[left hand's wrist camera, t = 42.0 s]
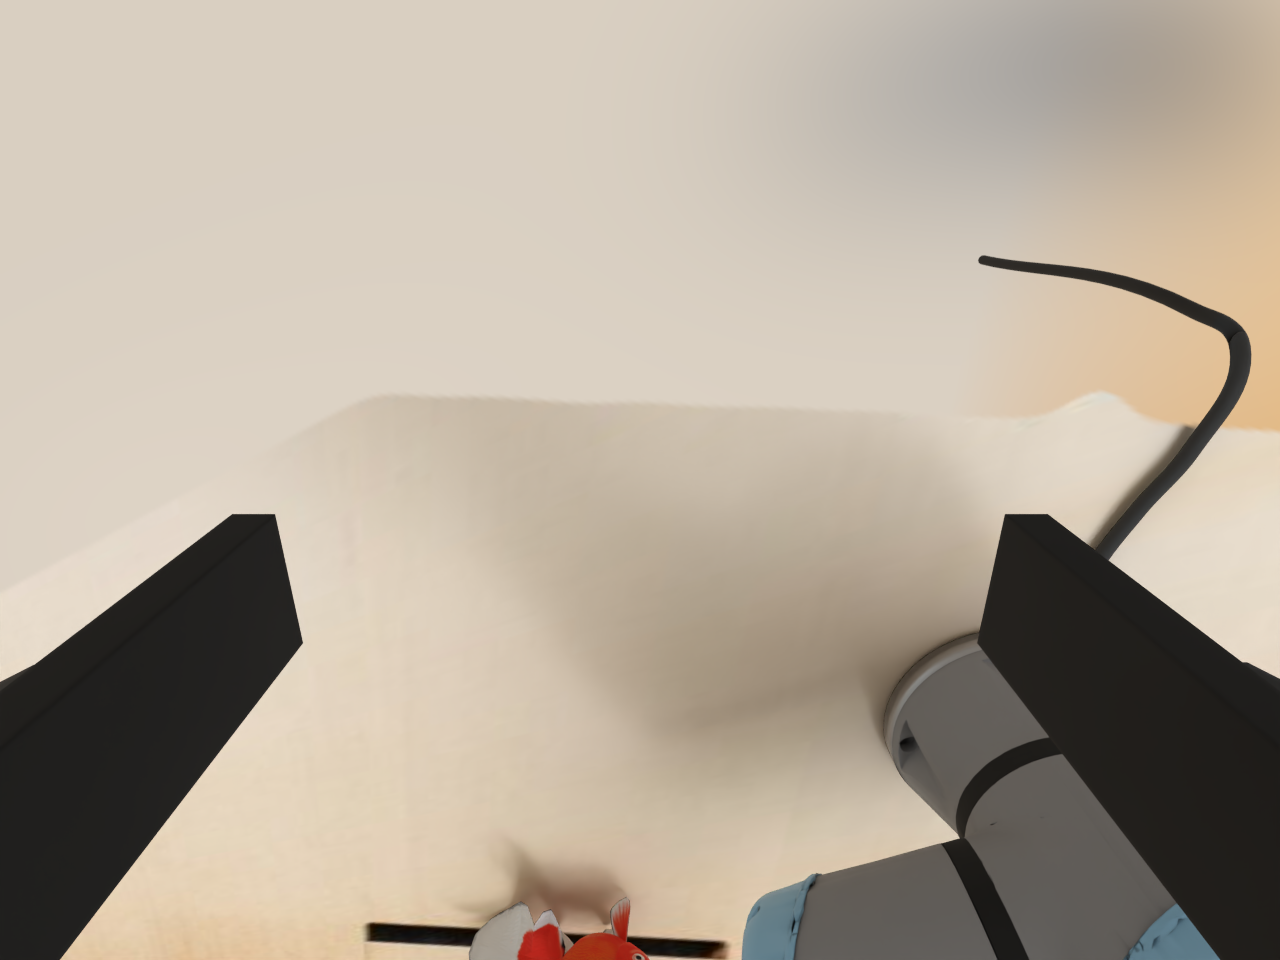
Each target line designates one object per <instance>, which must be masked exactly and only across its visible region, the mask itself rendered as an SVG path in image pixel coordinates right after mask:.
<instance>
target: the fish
mask: <svg viewBox="0 0 1280 960" xmlns="http://www.w3.org/2000/svg"><path fill="white" fill-rule="evenodd" d="M629 914H630V901H629V899H628V898H627V897H626V898H624V899H622V900H620V901H619V902H618V903H616V904H615V905H614V906H613V907H612V909H611V911H610V915H611V925H612V929H606V930H605V931H604V932H603V933H593V934H590V935H587V936H585V937H583V938H581V939H580V940H579V941H577V942H576V943H575V944H574V945H573V943H572V942H571V940H570V939H569V938H568V937H567V936H566V935H565V934H564V933H563V932H562V931H561V930H560V927H559V924H558V922H557V920H556V918H555V916H554V914H553V912H552V910H551V909H550V910H547V911H544V912H543V913H542V915H541V916H540V917H539V919H538V920H537V922H536V923H535V924H534V922H533V919H532V917H531V914H530V911H529V908H528V906H527V905H526V904H524V903H522V902H519V903H517V904H515V905H514V906H512V907H511V908H509V909H507V910H505V911H503V912H501V913H499V914H498V915H496V916H495V917H493V918H492V919H490V920H489V921H488V922H487V923H486V924H485V925H484V926H483V927H482V928H481V929H480V930H479V931H478V932H477V933H476V935H475V937H474V940H473V943H472V946H471V948H470V951H469V960H649V958H648V956H647V955H646V954H644V953H643V952H642V951H641V950H640V949H638V948H637V947H636V946H634V945H633V944H631V943H630V942H627V931H628V923H629ZM564 954H565V955H564Z"/></svg>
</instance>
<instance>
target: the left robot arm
mask: <svg viewBox="0 0 1280 960" xmlns="http://www.w3.org/2000/svg"><path fill="white" fill-rule="evenodd" d="M978 262H979V263H980V264H982V265H986V266H990V267H995V268H1001V269H1007V270H1014V271H1020V272H1028V273H1036V274H1044V275H1052V276H1059V277H1067V278H1073V279H1079V280H1085V281H1090V282H1095V283H1100V284H1104V285H1108V286H1112V287H1116V288H1119V289H1123V290H1126V291H1129V292H1132V293H1135V294H1138V295H1141V296H1143V297H1146V298H1148V299H1151V300H1153V301H1156V302H1158V303H1160V304H1163V305H1165V306H1167V307H1169V308H1171V309H1173V310H1175V311H1177V312H1179V313H1181V314H1183V315H1185V316H1187V317H1189V318H1191V319H1193V320H1195V321H1198V322H1200V323H1202V324H1205V325H1207V326H1210V327H1212V328H1214V329H1216V330H1218V331H1219V332H1221V333H1222V334H1223V335H1224V337H1225V338H1226V340H1227V342H1228V345H1229V349H1230V367H1229V373H1228V376H1227V380H1226V382H1225V385H1224V387H1223V389H1222V391H1221V393H1220V395H1219V397H1218V398H1217V400H1216V401H1215V403H1214V405H1213V406H1212V408H1211V409H1210V410H1209V412H1208V413H1207V415H1206V416H1205V417H1204V419H1203V420H1202V421H1201V423H1200V424H1199V425H1198V427H1197V428H1196V429H1195V431H1194V432H1193V433H1192V435H1191V436H1190V438H1189V439H1188V440H1187V442H1186V443H1185V445H1184V446H1183V447H1182V449H1181V450H1180V452H1179V453H1178V454H1177V455H1176V457H1175V458H1174V459H1173V460H1172V462H1171V463H1170V464H1169V465H1168V466H1167V467H1166V468H1165V469H1164V471H1163V472H1162V473H1161V474H1160V475H1159V476H1158V477H1157V478H1156V479H1155V480H1154V481H1153V482H1152V483H1151V484H1150V485H1149V486H1148V487H1147V488H1146V489H1145V490H1144V491H1143V492H1142V493H1141V495H1140V496H1139V497H1138V498H1137V499H1136V500H1135V501H1134V502H1133V504H1132V505H1131V506H1130V507H1129V508H1128V510H1127V511H1126V512H1125V513H1124V514H1123V516H1122V517H1121V518H1120V519H1119V521H1118V522H1117V523H1116V524H1115V525H1114V527H1113V528H1112V529H1111V530H1110V532H1109V533H1108V534H1107V535H1106V537H1105V538H1104V539H1103V541H1102V542H1101V543H1100V545H1099V546H1098V547H1097V549H1096V550H1094V549H1093V548H1091V547H1090V546H1089V545H1087V544H1086V543H1085V542H1083V541H1082V540H1081V539H1080V538H1078V537H1077V536H1076V535H1074V534H1073V533H1072V532H1070V531H1069V530H1068V529H1066V528H1065V527H1064V526H1062V525H1061V524H1060V523H1058V522H1057V521H1056V520H1055V519H1053V518H1052V517H1051V516H1049V515H1048V514H1005V517H1004V521H1003V526H1002V531H1001V535H1000V540H999V544H998V549H997V554H996V558H995V563H994V567H993V572H992V577H991V581H990V586H989V590H988V595H987V600H986V604H985V609H984V613H983V618H982V623H981V627H980V632H979V633H976V634H972V635H968V636H965V637H962V638H959V639H956V640H954V641H952V642H949V643H947V644H945V645H943V646H941V647H939V648H937V649H936V650H934V651H932V652H931V653H929V654H928V655H926V656H925V657H924V658H922V659H921V660H920V661H919V662H917V663H916V664H915V665H914V666H913V667H912V668H911V669H910V670H909V671H908V672H907V673H906V674H905V675H904V677H903V678H902V679H901V680H900V682H899V683H898V685H897V686H896V688H895V689H894V691H893V693H892V695H891V697H890V699H889V702H888V704H887V708H886V711H885V717H884V737H885V741H886V745H887V747H888V750H889V752H890V755H891V757H892V759H893V761H894V763H895V766H896V768H897V770H898V771H899V773H900V775H901V776H902V778H903V779H904V781H905V782H906V783H907V784H908V785H909V786H910V787H911V788H912V789H913V790H914V791H915V792H916V793H917V794H918V795H919V796H920V797H921V798H922V799H923V800H924V801H925V802H926V803H927V804H928V805H929V806H930V807H931V808H932V809H933V810H934V811H935V812H936V813H937V814H938V815H939V816H940V817H941V818H942V819H943V820H944V821H945V822H946V823H947V824H948V825H949V826H950V827H951V828H952V829H953V830H954V831H955V832H956V833H957V834H958V836H959V838H960V839H956V840H953V841H949V842H945V843H941V844H936V845H933V846H929V847H925V848H922V849H918V850H915V851H911V852H907V853H904V854H900V855H896V856H893V857H889V858H886V859H882V860H878V861H875V862H871V863H867V864H863V865H859V866H855V867H851V868H847V869H843V870H839V871H835V872H832V873H828V874H824V875H822V874H817V873H816V874H812V875H810V876H809V877H808V878H807V879H806V880H805V881H802V882H799V883H796V884H794V885H791V886H788V887H785V888H782V889H779V890H776V891H772V892H770V893H768V894H765V895H764V896H762V897H761V898H760V899H759V900H758V901H757V902H756V903H755V904H754V906H753V907H752V909H751V911H750V914H749V915H748V918H747V923H746V928H745V930H744V936H743V946H742V960H1280V679H1279V678H1277V677H1275V676H1273V675H1271V674H1269V673H1267V672H1265V671H1263V670H1261V669H1259V668H1257V667H1255V666H1253V665H1251V664H1249V663H1247V662H1241V661H1240V660H1238V659H1237V658H1236V657H1235V656H1233V655H1232V654H1231V653H1229V652H1228V651H1227V650H1225V649H1224V648H1223V647H1221V646H1220V645H1219V644H1217V643H1216V642H1215V641H1214V640H1212V639H1211V638H1210V637H1208V636H1207V635H1206V634H1204V633H1203V632H1202V631H1200V630H1199V629H1198V628H1196V627H1195V626H1194V625H1192V624H1191V623H1190V622H1189V621H1187V620H1186V619H1185V618H1183V617H1182V616H1181V615H1179V614H1178V613H1177V612H1175V611H1174V610H1173V609H1171V608H1170V607H1169V606H1168V605H1166V604H1165V603H1164V602H1162V601H1161V600H1160V599H1158V598H1157V597H1156V596H1154V595H1153V594H1152V593H1150V592H1149V591H1148V590H1147V589H1145V588H1144V587H1143V586H1141V585H1140V584H1139V583H1137V582H1136V581H1135V580H1133V579H1132V578H1131V577H1129V576H1128V575H1127V574H1125V573H1124V572H1123V571H1122V570H1120V569H1119V568H1118V567H1116V566H1115V565H1114V564H1112V563H1111V562H1110V561H1108V560H1109V559H1110V558H1111V556H1112V555H1113V553H1114V552H1115V551H1116V549H1117V548H1118V547H1119V546H1120V544H1121V543H1122V542H1123V541H1124V539H1125V538H1126V537H1127V536H1128V535H1129V533H1130V532H1131V531H1132V530H1133V529H1134V527H1135V526H1136V525H1137V524H1138V523H1139V521H1140V520H1141V519H1142V518H1143V517H1144V515H1145V514H1146V513H1147V512H1148V511H1149V510H1150V508H1151V507H1152V506H1153V505H1154V504H1155V503H1156V502H1157V501H1158V500H1159V499H1160V498H1161V497H1162V496H1163V495H1164V494H1165V493H1166V492H1167V491H1168V490H1169V489H1170V488H1171V487H1172V486H1173V485H1174V484H1175V483H1176V481H1177V480H1178V479H1179V478H1180V477H1181V476H1182V475H1183V474H1184V473H1185V472H1186V471H1187V469H1188V468H1189V467H1190V466H1191V465H1192V463H1193V462H1194V461H1195V460H1196V458H1197V457H1198V456H1199V454H1200V453H1201V451H1202V450H1203V449H1204V447H1205V446H1206V444H1207V443H1208V442H1209V440H1210V439H1211V438H1212V436H1213V435H1214V434H1215V433H1216V431H1217V430H1218V429H1219V427H1220V426H1221V425H1222V423H1223V422H1224V421H1225V419H1226V418H1227V417H1228V415H1229V414H1230V412H1231V411H1232V409H1233V408H1234V406H1235V405H1236V403H1237V401H1238V400H1239V398H1240V396H1241V394H1242V392H1243V390H1244V387H1245V385H1246V383H1247V379H1248V376H1249V372H1250V366H1251V346H1250V342H1249V338H1248V336H1247V333H1246V331H1245V330H1244V329H1243V327H1242V326H1241V325H1240V324H1238V323H1237V322H1236V321H1235V320H1233V319H1232V318H1230V317H1229V316H1227V315H1225V314H1223V313H1220V312H1218V311H1215V310H1213V309H1210V308H1207V307H1205V306H1202V305H1200V304H1198V303H1196V302H1194V301H1192V300H1189V299H1187V298H1185V297H1183V296H1181V295H1179V294H1176V293H1174V292H1172V291H1169V290H1167V289H1164V288H1162V287H1159V286H1156V285H1154V284H1151V283H1148V282H1145V281H1141V280H1138V279H1135V278H1131V277H1128V276H1124V275H1119V274H1115V273H1111V272H1106V271H1100V270H1094V269H1089V268H1081V267H1074V266H1065V265H1056V264H1045V263H1035V262H1025V261H1016V260H1009V259H1002V258H996V257H990V256H986V255H982V256H980V257H979V259H978ZM302 644H303V641H302V637H301V632H300V627H299V623H298V618H297V613H296V609H295V604H294V600H293V595H292V590H291V586H290V581H289V577H288V572H287V567H286V563H285V558H284V554H283V549H282V544H281V540H280V535H279V531H278V526H277V521H276V517H275V514H232V515H231V516H229V517H228V518H227V519H225V520H224V521H223V522H222V523H220V524H219V525H218V526H216V527H215V528H214V529H212V530H211V531H210V532H208V533H207V534H206V535H204V536H203V537H202V538H200V539H199V540H198V541H197V542H195V543H194V544H193V545H191V546H190V547H189V548H187V549H186V550H185V551H183V552H182V553H181V554H179V555H178V556H177V557H176V558H174V559H173V560H172V561H170V562H169V563H168V564H166V565H165V566H164V567H162V568H161V569H160V570H158V571H157V572H156V573H155V574H153V575H152V576H151V577H149V578H148V579H147V580H145V581H144V582H143V583H141V584H140V585H139V586H137V587H136V588H135V589H133V590H132V591H131V592H130V593H128V594H127V595H126V596H124V597H123V598H122V599H120V600H119V601H118V602H116V603H115V604H114V605H112V606H111V607H110V608H109V609H107V610H106V611H105V612H103V613H102V614H101V615H99V616H98V617H97V618H95V619H94V620H93V621H91V622H90V623H89V624H88V625H86V626H85V627H84V628H82V629H81V630H80V631H78V632H77V633H76V634H74V635H73V636H72V637H70V638H69V639H68V640H66V641H65V642H64V643H63V644H61V645H60V646H59V647H57V648H56V649H55V650H53V651H52V652H51V653H49V654H48V655H47V656H45V657H44V658H43V659H42V660H40V661H39V662H38V663H36V664H35V665H33V666H31V667H29V668H27V669H25V670H23V671H21V672H19V673H17V674H15V675H13V676H11V677H9V678H7V679H5V680H3V681H1V682H0V960H60V959H61V958H62V956H63V955H64V954H65V952H66V951H67V950H68V948H69V947H70V946H71V945H72V943H73V942H74V941H75V939H76V938H77V937H78V935H79V934H80V933H81V932H82V930H83V929H84V928H85V926H86V925H87V924H88V922H89V921H90V920H91V918H92V917H93V916H94V915H95V913H96V912H97V911H98V909H99V908H100V907H101V905H102V904H103V903H104V902H105V900H106V899H107V898H108V896H109V895H110V894H111V892H112V891H113V890H114V889H115V887H116V886H117V885H118V883H119V882H120V881H121V879H122V878H123V877H124V875H125V874H126V873H127V872H128V870H129V869H130V868H131V866H132V865H133V864H134V862H135V861H136V860H137V859H138V857H139V856H140V855H141V853H142V852H143V851H144V849H145V848H146V847H147V846H148V844H149V843H150V842H151V840H152V839H153V838H154V836H155V835H156V834H157V832H158V831H159V830H160V829H161V827H162V826H163V825H164V823H165V822H166V821H167V819H168V818H169V817H170V816H171V814H172V813H173V812H174V810H175V809H176V808H177V806H178V805H179V804H180V803H181V801H182V800H183V799H184V797H185V796H186V795H187V793H188V792H189V791H190V790H191V788H192V787H193V786H194V784H195V783H196V782H197V780H198V779H199V778H200V776H201V775H202V774H203V773H204V771H205V770H206V769H207V767H208V766H209V765H210V763H211V762H212V761H213V760H214V758H215V757H216V756H217V754H218V753H219V752H220V750H221V749H222V748H223V747H224V745H225V744H226V743H227V741H228V740H229V739H230V737H231V736H232V735H233V733H234V732H235V731H236V730H237V728H238V727H239V726H240V724H241V723H242V722H243V720H244V719H245V718H246V717H247V715H248V714H249V713H250V711H251V710H252V709H253V707H254V706H255V705H256V704H257V702H258V701H259V700H260V698H261V697H262V696H263V694H264V693H265V692H266V691H267V689H268V688H269V687H270V685H271V684H272V683H273V681H274V680H275V679H276V677H277V676H278V675H279V674H280V672H281V671H282V670H283V668H284V667H285V666H286V664H287V663H288V662H289V661H290V659H291V658H292V657H293V655H294V654H295V653H296V651H297V650H298V649H299V648H300V646H301V645H302Z"/></svg>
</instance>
